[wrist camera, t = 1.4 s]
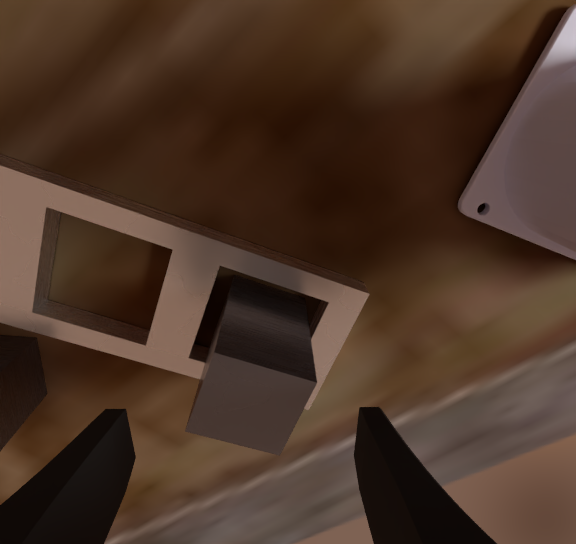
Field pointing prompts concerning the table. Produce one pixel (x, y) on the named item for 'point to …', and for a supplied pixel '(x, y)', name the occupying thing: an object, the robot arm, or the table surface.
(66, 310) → the square hole plate
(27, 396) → the grey wood-grain cube
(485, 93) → the table surface
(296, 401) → the dark square post
